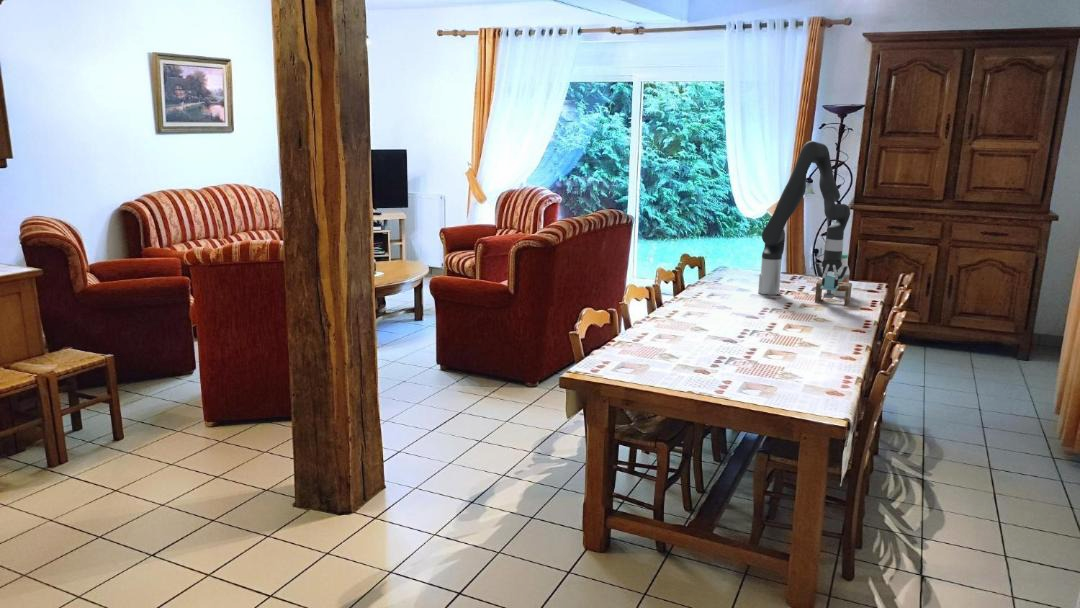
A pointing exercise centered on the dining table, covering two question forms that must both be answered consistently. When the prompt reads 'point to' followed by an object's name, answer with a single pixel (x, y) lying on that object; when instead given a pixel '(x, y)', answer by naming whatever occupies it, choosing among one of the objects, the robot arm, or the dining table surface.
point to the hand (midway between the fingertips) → (829, 286)
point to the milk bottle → (841, 291)
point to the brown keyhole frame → (840, 285)
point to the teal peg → (829, 286)
